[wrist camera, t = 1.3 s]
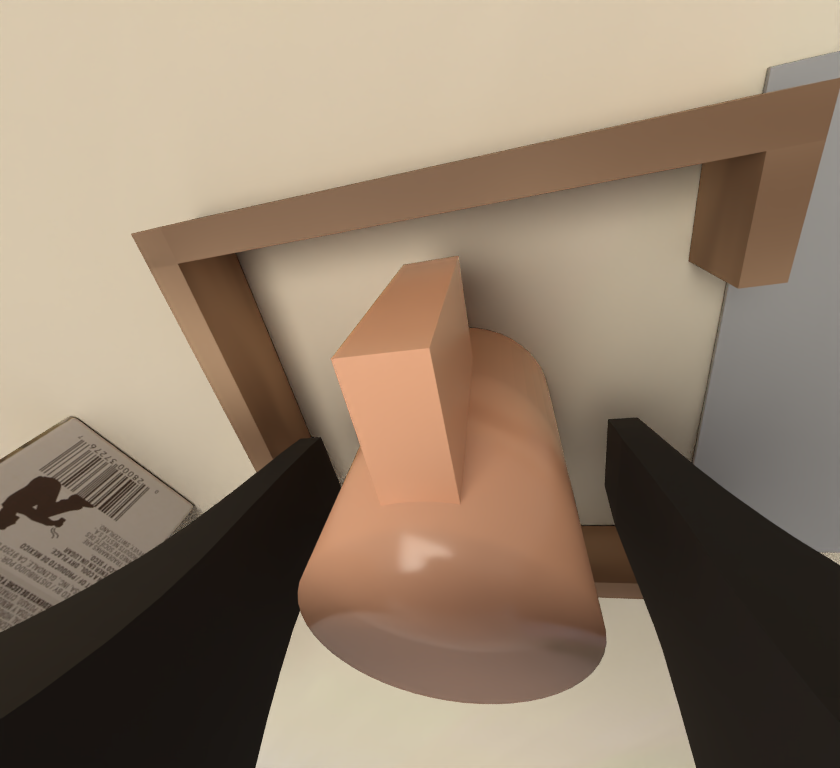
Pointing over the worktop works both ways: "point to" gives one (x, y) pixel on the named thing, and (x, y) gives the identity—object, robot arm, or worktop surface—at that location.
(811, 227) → the mat
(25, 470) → the coffee box
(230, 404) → the jug holder
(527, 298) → the worktop surface
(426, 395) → the jug
